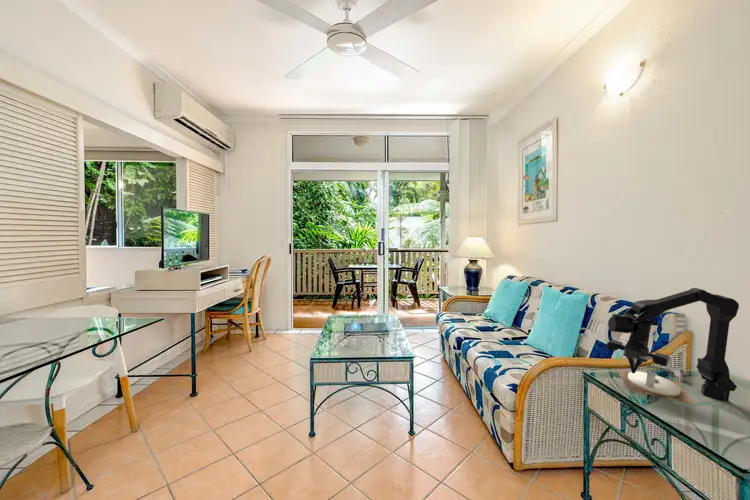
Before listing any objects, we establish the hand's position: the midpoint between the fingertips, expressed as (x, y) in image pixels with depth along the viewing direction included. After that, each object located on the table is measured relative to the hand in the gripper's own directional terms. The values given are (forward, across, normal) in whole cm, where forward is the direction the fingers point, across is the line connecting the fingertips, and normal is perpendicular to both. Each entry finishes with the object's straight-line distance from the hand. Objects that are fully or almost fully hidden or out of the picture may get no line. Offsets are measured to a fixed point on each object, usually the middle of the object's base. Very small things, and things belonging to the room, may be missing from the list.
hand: (633, 373), depth 131 cm
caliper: (+7, +7, +32) cm, 33 cm away
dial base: (+6, +5, +7) cm, 11 cm away
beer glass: (+7, -5, +33) cm, 34 cm away
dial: (+5, +5, +7) cm, 10 cm away
